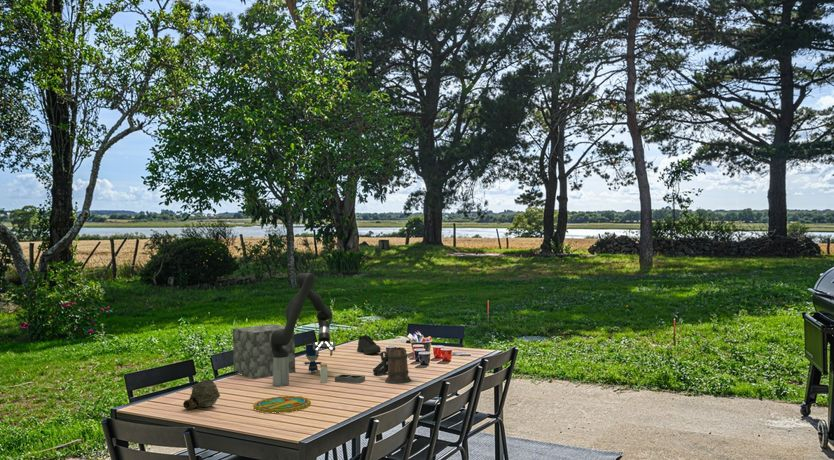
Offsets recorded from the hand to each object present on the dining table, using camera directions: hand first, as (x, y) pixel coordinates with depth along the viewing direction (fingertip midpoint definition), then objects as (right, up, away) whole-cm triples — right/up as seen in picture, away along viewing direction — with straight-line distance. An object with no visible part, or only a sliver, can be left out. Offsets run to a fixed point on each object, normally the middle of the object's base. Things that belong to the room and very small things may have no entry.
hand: (324, 355), depth 420 cm
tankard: (+45, -13, -11) cm, 48 cm away
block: (-44, -16, +25) cm, 53 cm away
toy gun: (+41, -14, +11) cm, 45 cm away
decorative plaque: (-13, -15, -67) cm, 70 cm away
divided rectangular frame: (+18, -14, -10) cm, 25 cm away
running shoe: (+21, -15, +90) cm, 94 cm away
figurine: (-10, -15, +18) cm, 25 cm away
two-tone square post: (+2, -14, -10) cm, 18 cm away
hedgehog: (-58, -16, -66) cm, 89 cm away
